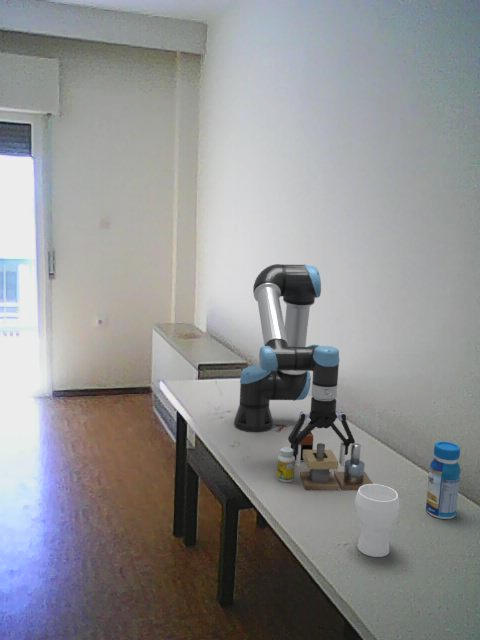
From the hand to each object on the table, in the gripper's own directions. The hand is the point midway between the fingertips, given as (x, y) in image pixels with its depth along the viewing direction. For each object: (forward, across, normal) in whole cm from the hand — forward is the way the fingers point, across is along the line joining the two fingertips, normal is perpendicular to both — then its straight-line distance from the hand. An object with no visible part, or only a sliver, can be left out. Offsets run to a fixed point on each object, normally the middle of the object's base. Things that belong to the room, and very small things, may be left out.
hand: (319, 464), depth 182 cm
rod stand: (+6, 0, 0) cm, 6 cm away
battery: (+6, -2, +19) cm, 20 cm away
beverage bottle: (+7, +31, -19) cm, 37 cm away
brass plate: (0, 0, 0) cm, 0 cm away
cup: (+7, +6, -37) cm, 38 cm away
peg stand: (+6, +11, 0) cm, 13 cm away
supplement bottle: (+6, -10, +3) cm, 12 cm away
